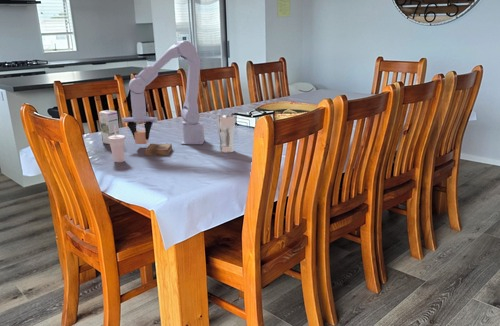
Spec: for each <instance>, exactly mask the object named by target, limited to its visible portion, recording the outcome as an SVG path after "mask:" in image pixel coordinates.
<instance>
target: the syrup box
mask: <svg viewBox="0 0 500 326" xmlns="http://www.w3.org/2000/svg"><path fill="white" fill-rule="evenodd" d="M98 114H99V124H100V125H99V126H100V131H101V140H102V144H105V145H108V146H110V142H109V140H108V137H109V136H113V135H115V132H114V125H115V127H116V135H120V128H119V119H118V118H119V117H118V116H119V115H118V111H117V110H110V109H106V110H104V109H103V110H101V111H99V112H98Z"/></svg>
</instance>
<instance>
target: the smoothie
mask: <svg viewBox="0 0 500 326" xmlns="http://www.w3.org/2000/svg"><path fill="white" fill-rule="evenodd" d="M114 132H115V135H113V136H109V137H108V140H109V142H110V145H109V146H110V150H111V154H112V158H113V162H114V163H122V162H123V163H124V162H125V142H126V141H125V140H126V135H123V134H119V135H116V127H115V125H114Z"/></svg>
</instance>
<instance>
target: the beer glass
mask: <svg viewBox="0 0 500 326" xmlns="http://www.w3.org/2000/svg"><path fill="white" fill-rule="evenodd" d="M235 127H236V125H235V115H234V114H231V113H230V114H229V113H227V114H226V113H223V114H218V115H217V130H218V131H217V132H218V137H219V140H220V141H219V142H220V143H219V144H220V145H219V152H220V153H222V154H231V153H234V152H235V148H234V137H235V136H234V135H235V132H236V131H235V130H236V129H235Z"/></svg>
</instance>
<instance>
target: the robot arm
mask: <svg viewBox="0 0 500 326" xmlns="http://www.w3.org/2000/svg"><path fill="white" fill-rule="evenodd" d="M177 58H182V59H183V60H185V62H186V63H187V64H188V65H187V66H188V67H187V75H186V76H187V78H186V79H187V80H186V87H185V88H186V89H185V100H184V102H183V107H182V109H181V111H180V116H181V118H182V119H183V120H182V122H181V123H182V124H181V125H182V141H181V143H180V144H181V145H203V144H204V142H205V125H204V122H199V121H200V119H201V115H200V112H199V104H198V96H199V83H200V75H201V65H202V63H201V59H200V55H199V54H198V52H197V48H196V46H195V45H194V44H193V43H192V42H191V41H189V40H178V41H176V42H174V44H173V45H170V47H169V48H167V50H165V52H163V54H162V55H161V56H160V57H159V58H157V60H156V61H155V62H154V63H153V64H148V65H144V66H143V67H142V70H141V71H139V73H138V74H135V75H134V77H133V78H132V79H130V80H129V83H128V86H127V87H128V90H129V91H130V103H131V105H130V106H131V115H132V116H130V117H129V116H126V117H122V118H121V122H122V124H125V123H126V124H127V127H128V128H129V130H130V132H131V135H132V136H133V139H134V141H135V135H134V132H136V131H137V123H138V124H139V123H144V124H143V126H144V130H145V131H146V140H148V141H149V140H150V133H151V129H152V127H153V124H157V123H158V120H159V119H158V117H157V116H156V117H153V116H147V110H146V109H147V106H146V97H145V90H146V86H149V85H150V84H151V83H152V82H153V81H154V80H155V79H156V78H157V77H158V76H159V71H160V70H161V69H162V68H164V66H165V65H167V64H168V63H169V62H170V61H171V60H172V59H177Z"/></svg>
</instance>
